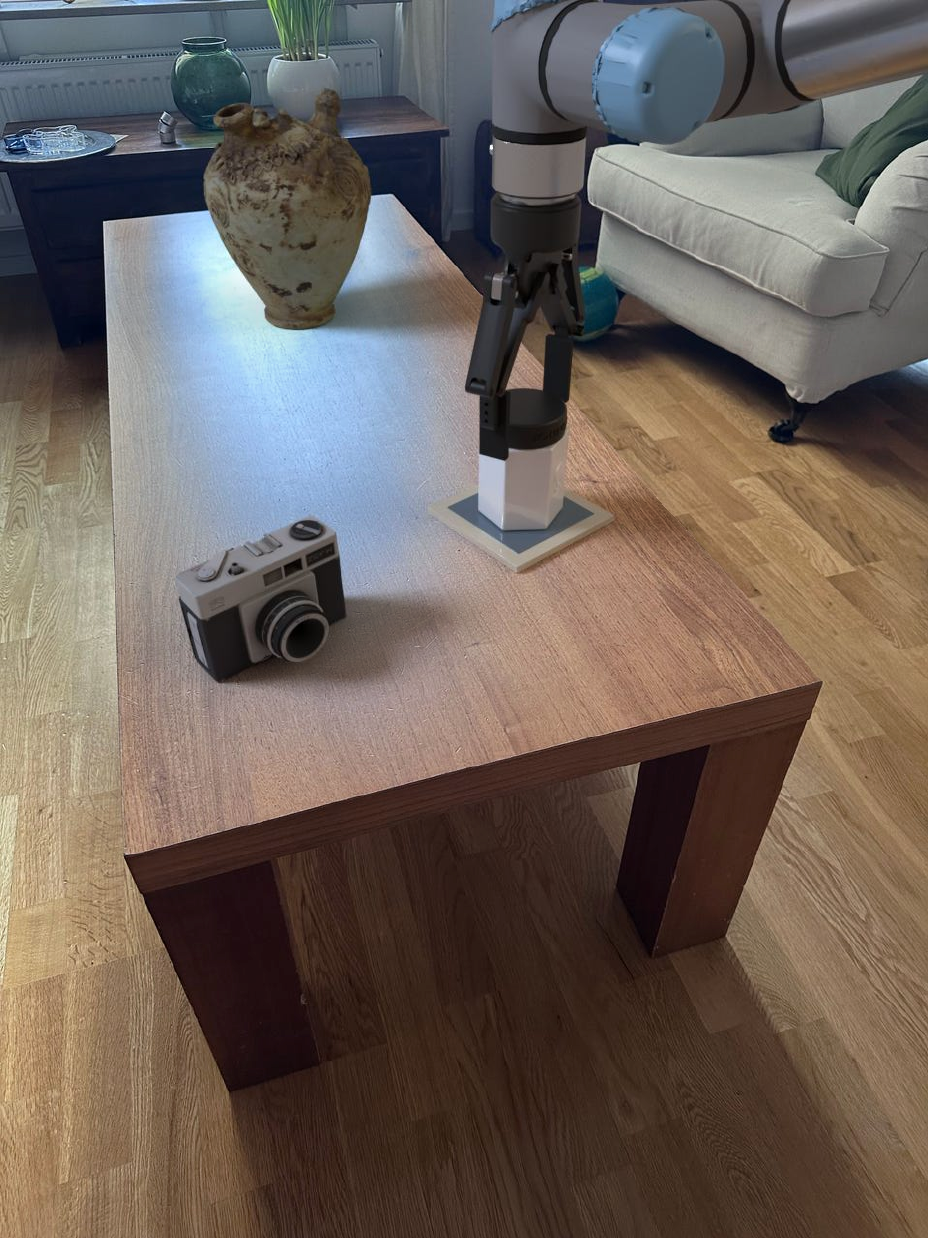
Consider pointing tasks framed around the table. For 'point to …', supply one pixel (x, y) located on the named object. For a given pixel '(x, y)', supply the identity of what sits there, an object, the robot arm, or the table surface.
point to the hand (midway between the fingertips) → (526, 426)
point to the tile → (520, 544)
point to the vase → (289, 206)
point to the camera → (264, 599)
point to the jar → (527, 464)
